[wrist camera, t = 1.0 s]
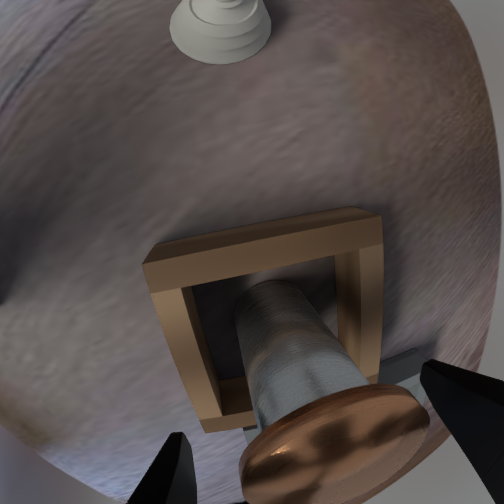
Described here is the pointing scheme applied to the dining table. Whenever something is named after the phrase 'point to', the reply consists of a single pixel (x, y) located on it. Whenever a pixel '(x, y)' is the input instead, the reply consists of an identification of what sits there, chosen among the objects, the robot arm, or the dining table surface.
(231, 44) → the chalice
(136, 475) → the dining table surface
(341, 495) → the glass jar
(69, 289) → the dining table surface
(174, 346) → the square wooden frame
